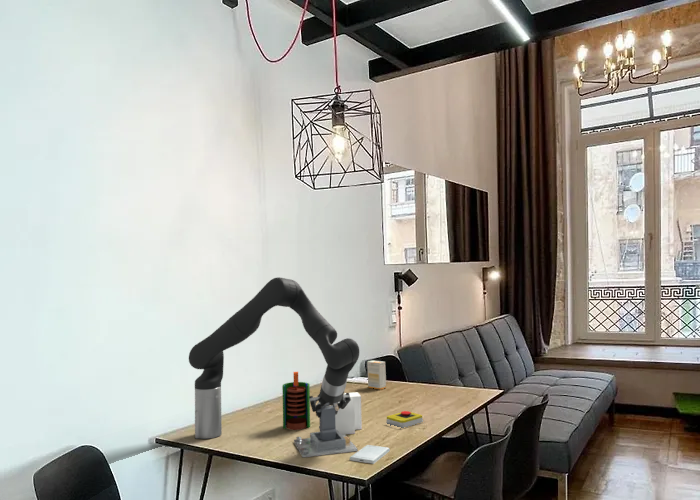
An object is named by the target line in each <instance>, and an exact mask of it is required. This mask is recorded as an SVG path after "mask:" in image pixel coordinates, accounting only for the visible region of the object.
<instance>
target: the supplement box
mask: <svg viewBox="0 0 700 500" xmlns="http://www.w3.org/2000/svg"><path fill="white" fill-rule="evenodd" d="M366 362H367V363H366V364H367V365H366V366H367V388H369V389H373V388H374V389H373V390H380V391H381V390H384V388H385V389H387V375H386V374H387V372H386V361H381V360H373V359H372V360H368V361H366Z"/></svg>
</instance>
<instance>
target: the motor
mask: <svg viewBox="0 0 700 500" xmlns="http://www.w3.org/2000/svg"><path fill="white" fill-rule="evenodd" d="M281 387H282V389H281V390H282V428H283V429H288V430H289V431H290V430H292V431H299V430H304V429H310V428H311V404H310V399H309V397H310V396H311V394H310V393H311V384H310V383H309V382H305V381H304V382H303V381H299V371H293V381H292V382H286V383H283V384H282V386H281Z"/></svg>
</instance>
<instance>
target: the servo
mask: <svg viewBox="0 0 700 500" xmlns="http://www.w3.org/2000/svg"><path fill="white" fill-rule="evenodd" d="M318 420H319V425H318V430H319V432H320V438H321V439H322V441H323V440H332V439H336V426H335V408H334V407H333V406H331V405H329V406H326V408H325V409H323V410H322V411H321V416H320V418H319V419H318Z"/></svg>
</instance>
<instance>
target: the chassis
mask: <svg viewBox="0 0 700 500" xmlns="http://www.w3.org/2000/svg"><path fill="white" fill-rule="evenodd" d="M309 435H310V436H309V437H307V438H306V437H305V438H302V437H301V436H297V437H296V439H293V442H294V445H295V447H296V448H297V451H298V452H299V454H300V455H301V457H302V458H309V457H319V456H328V455H335V454H336V455H337V454H343V453H351V452H352V453H354V452H358V451H359V450H358V448H357V447H356V445H355V443H353V442H352V441H351V438H349V436H347V434H342V435H341V434H340V433H339V431H338V430H336V439H332V440H323V441H322V439H321V438H320V431H316V432H315V431H314V432H310V433H309Z"/></svg>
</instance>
